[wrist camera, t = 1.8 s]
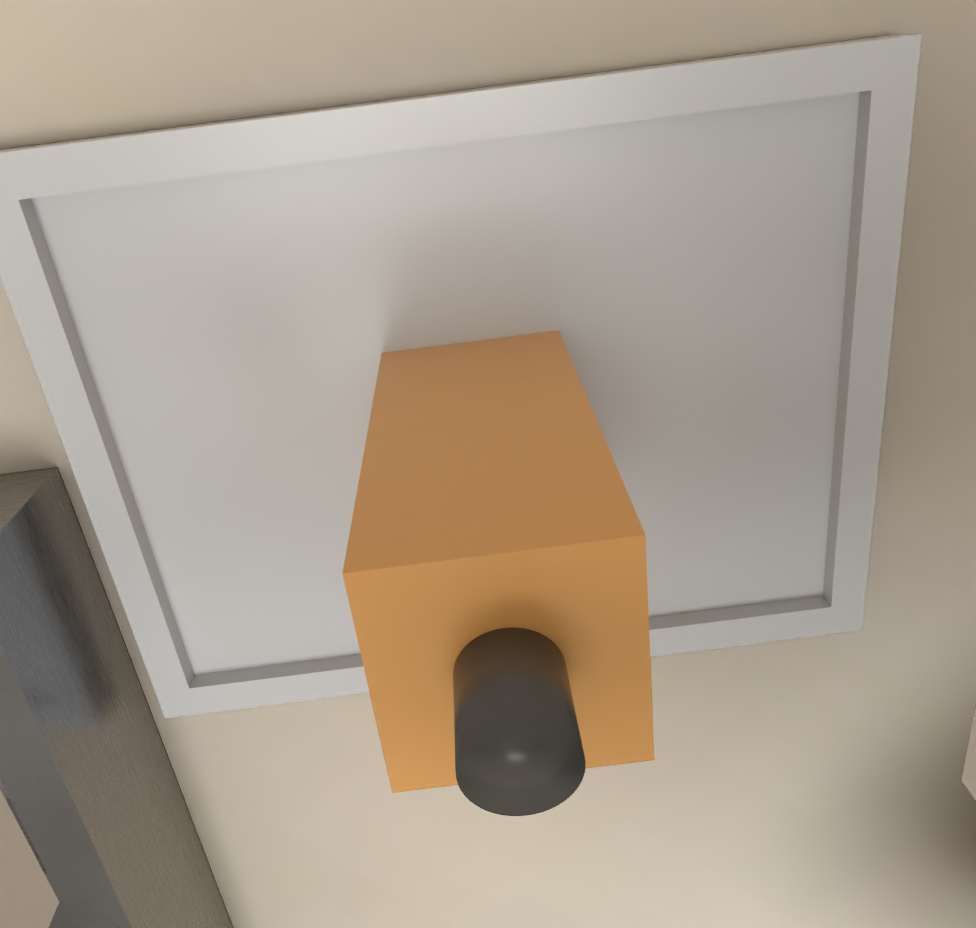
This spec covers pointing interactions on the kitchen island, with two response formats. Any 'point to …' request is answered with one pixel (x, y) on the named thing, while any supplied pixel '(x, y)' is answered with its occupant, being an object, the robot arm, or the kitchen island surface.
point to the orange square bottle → (497, 577)
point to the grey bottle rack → (86, 734)
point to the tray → (474, 335)
